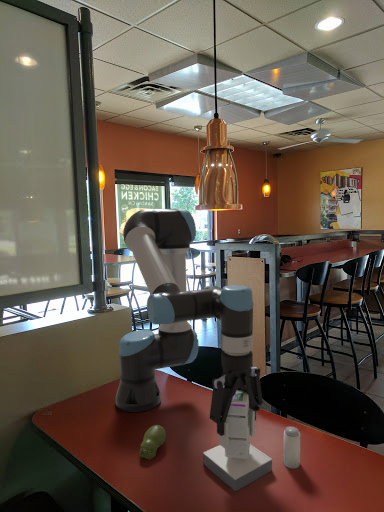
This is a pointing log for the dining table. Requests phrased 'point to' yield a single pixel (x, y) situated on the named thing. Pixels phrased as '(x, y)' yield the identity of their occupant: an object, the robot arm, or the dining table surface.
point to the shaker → (291, 447)
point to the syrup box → (238, 427)
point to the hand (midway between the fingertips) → (237, 439)
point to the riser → (237, 466)
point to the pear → (152, 441)
